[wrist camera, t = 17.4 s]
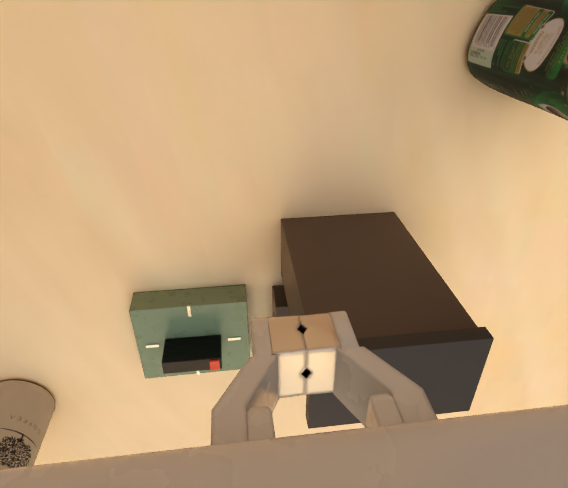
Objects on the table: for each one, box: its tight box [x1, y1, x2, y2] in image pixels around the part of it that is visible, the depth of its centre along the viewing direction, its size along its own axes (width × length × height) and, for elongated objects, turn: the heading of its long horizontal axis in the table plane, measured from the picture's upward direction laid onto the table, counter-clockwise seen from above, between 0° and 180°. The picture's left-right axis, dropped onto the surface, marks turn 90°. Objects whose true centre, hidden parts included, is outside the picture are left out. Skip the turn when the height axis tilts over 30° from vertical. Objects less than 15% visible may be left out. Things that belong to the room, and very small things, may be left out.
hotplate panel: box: [129, 285, 250, 378], centre depth 49 cm, size 12×10×3 cm
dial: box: [162, 335, 222, 374], centre depth 47 cm, size 6×2×4 cm, turn 90°
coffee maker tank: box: [281, 212, 494, 428], centre depth 39 cm, size 13×8×19 cm, turn 90°
